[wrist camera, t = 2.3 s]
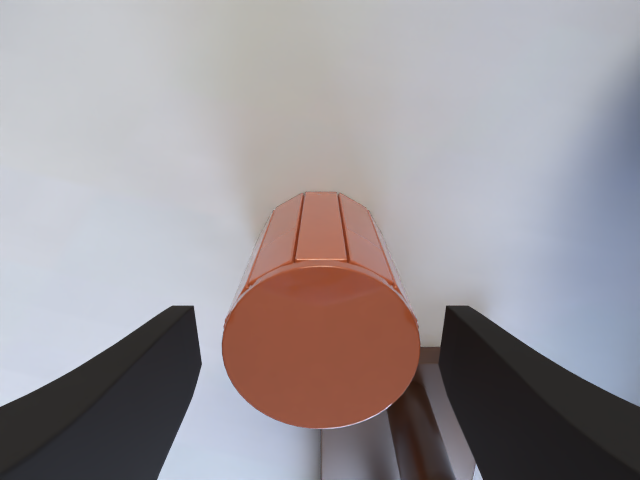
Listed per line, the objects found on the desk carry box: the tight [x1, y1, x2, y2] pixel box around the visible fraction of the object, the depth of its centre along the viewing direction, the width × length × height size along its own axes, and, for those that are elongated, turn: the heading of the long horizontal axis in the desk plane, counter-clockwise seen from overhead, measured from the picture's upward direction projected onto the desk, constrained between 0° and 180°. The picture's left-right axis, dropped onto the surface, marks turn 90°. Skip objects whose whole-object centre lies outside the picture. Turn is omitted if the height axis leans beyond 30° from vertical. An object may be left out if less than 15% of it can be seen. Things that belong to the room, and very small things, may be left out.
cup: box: [222, 192, 420, 429], centre depth 14 cm, size 5×5×7 cm
